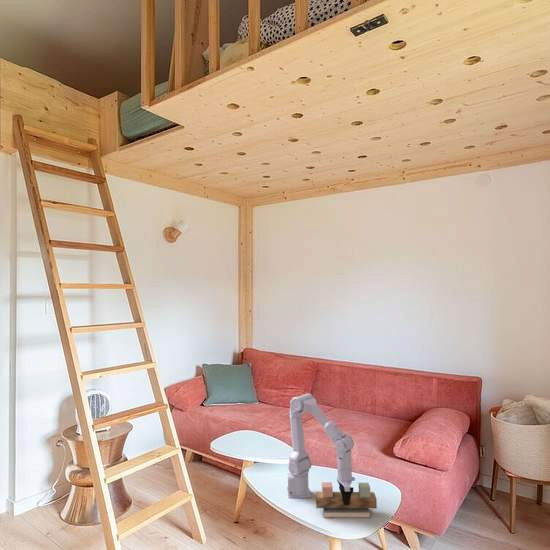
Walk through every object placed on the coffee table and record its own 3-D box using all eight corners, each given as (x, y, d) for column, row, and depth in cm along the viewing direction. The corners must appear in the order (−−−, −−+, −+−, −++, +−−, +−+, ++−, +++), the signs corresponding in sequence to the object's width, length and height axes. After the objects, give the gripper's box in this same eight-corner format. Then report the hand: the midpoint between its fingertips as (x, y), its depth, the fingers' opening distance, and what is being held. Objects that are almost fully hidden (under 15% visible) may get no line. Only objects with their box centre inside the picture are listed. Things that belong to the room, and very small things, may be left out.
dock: (324, 517, 160) (324, 512, 160) (322, 507, 167) (322, 502, 167) (369, 517, 159) (369, 512, 159) (366, 507, 166) (366, 503, 166)
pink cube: (322, 497, 162) (322, 487, 162) (321, 492, 166) (321, 482, 166) (332, 497, 162) (332, 487, 162) (331, 492, 166) (331, 482, 166)
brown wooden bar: (316, 508, 161) (316, 497, 162) (315, 501, 166) (315, 491, 167) (376, 508, 160) (376, 498, 160) (374, 502, 165) (374, 492, 165)
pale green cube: (360, 497, 161) (360, 487, 161) (358, 492, 165) (358, 482, 165) (370, 497, 161) (370, 487, 161) (368, 492, 165) (368, 482, 165)
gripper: (357, 475, 157) (358, 510, 156) (351, 459, 171) (352, 492, 170) (339, 475, 157) (340, 510, 156) (335, 459, 171) (335, 492, 171)
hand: (345, 501), depth 163 cm, fingers closed on brown wooden bar, 5 cm apart
